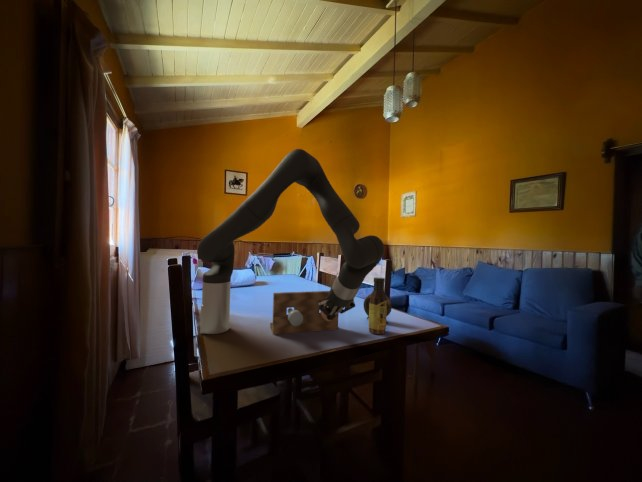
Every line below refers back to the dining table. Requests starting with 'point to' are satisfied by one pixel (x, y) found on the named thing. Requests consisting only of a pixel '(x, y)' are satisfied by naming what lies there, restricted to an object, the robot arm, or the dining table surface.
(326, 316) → the terracotta button
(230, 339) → the dining table surface
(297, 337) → the dining table surface
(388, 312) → the alarm clock
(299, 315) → the slate button
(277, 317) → the walnut panel
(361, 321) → the dining table surface
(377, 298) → the sauce bottle
